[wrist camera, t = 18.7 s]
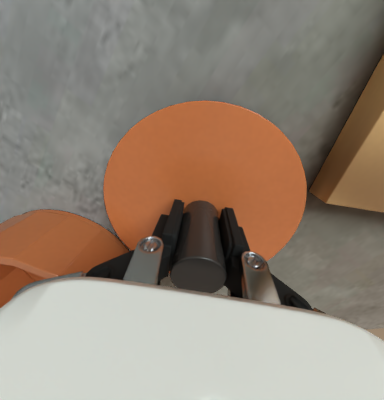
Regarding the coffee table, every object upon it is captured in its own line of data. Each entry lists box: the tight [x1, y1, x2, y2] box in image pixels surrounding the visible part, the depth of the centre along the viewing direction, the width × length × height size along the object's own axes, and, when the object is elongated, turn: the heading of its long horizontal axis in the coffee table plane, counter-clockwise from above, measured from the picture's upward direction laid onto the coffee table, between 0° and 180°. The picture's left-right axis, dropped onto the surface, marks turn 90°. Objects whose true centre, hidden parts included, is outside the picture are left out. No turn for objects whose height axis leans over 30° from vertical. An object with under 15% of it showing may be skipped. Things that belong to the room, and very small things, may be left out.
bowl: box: [0, 209, 129, 308], centre depth 16 cm, size 15×15×6 cm
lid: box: [103, 101, 307, 293], centre depth 11 cm, size 16×16×7 cm
